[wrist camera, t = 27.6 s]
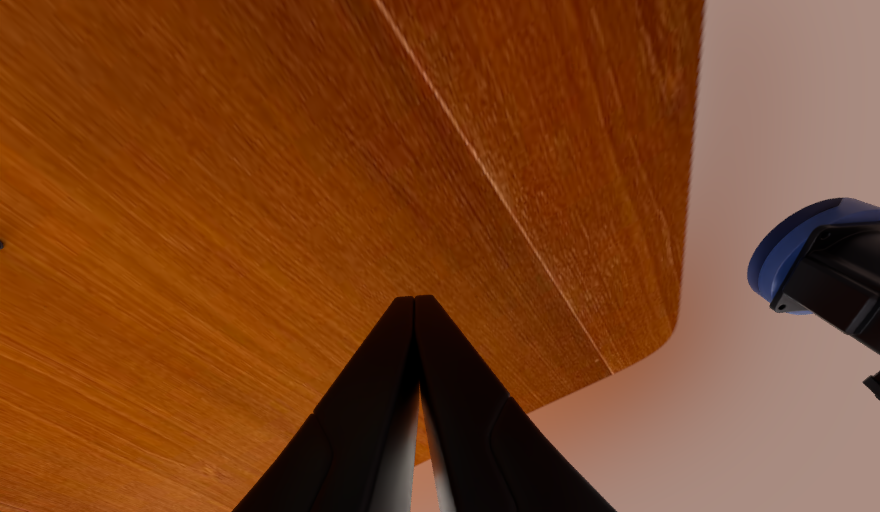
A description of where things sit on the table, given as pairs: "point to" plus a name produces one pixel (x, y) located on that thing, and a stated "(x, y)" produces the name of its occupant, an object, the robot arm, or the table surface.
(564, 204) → the table surface
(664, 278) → the table surface
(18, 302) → the table surface
